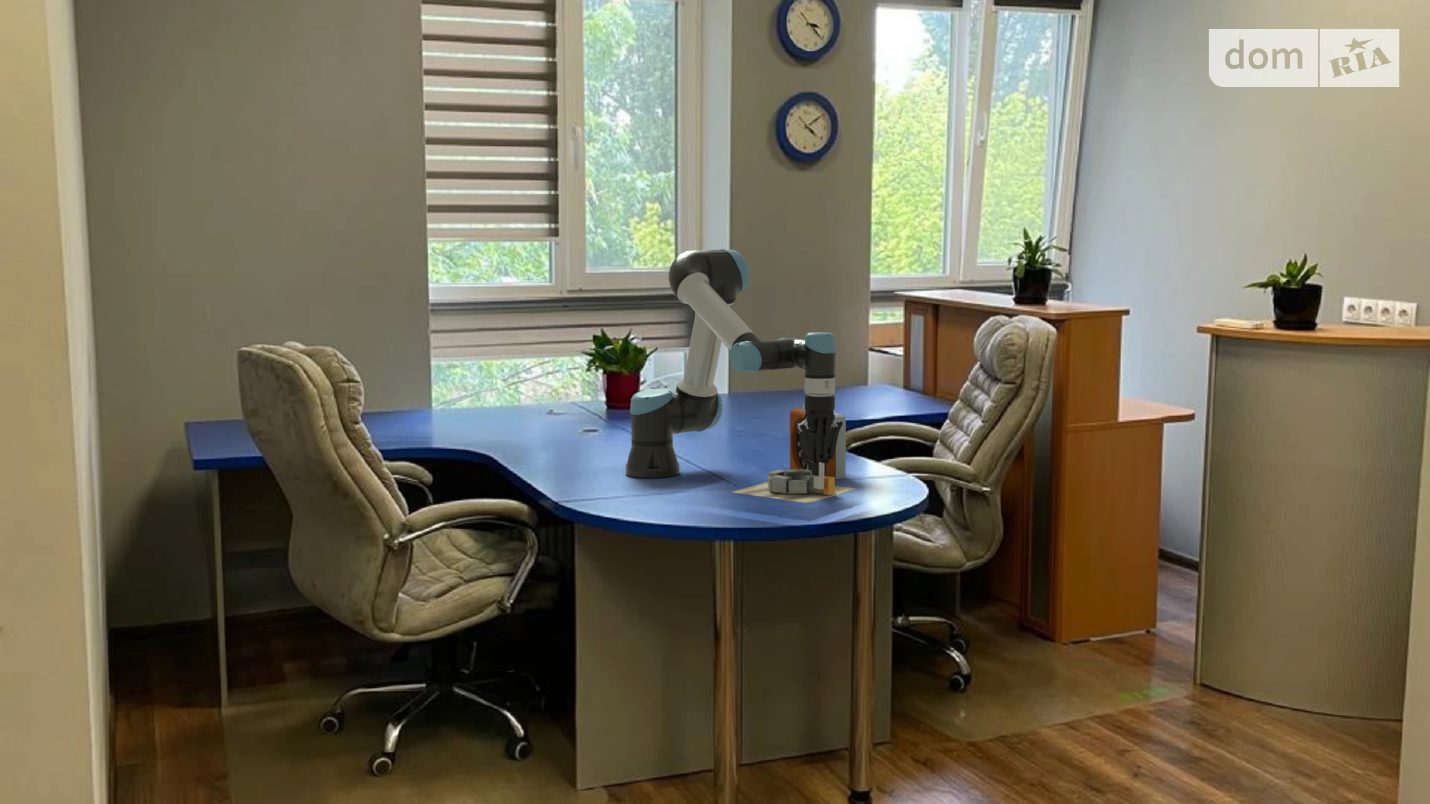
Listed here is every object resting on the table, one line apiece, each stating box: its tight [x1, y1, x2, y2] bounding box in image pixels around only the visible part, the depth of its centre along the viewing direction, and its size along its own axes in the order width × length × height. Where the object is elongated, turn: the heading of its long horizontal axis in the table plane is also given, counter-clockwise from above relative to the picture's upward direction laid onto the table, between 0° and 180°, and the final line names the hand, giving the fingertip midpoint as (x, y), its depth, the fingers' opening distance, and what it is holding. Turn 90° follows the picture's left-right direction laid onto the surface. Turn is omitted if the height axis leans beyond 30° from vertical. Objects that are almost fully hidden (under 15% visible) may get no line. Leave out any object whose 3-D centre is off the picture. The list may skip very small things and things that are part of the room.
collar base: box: [731, 468, 857, 504], centre depth 344 cm, size 24×22×6 cm
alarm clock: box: [789, 404, 847, 480], centre depth 366 cm, size 18×9×21 cm, turn 21°
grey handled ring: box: [767, 469, 836, 495], centre depth 343 cm, size 18×13×4 cm
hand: (818, 488), depth 337 cm, fingers closed
